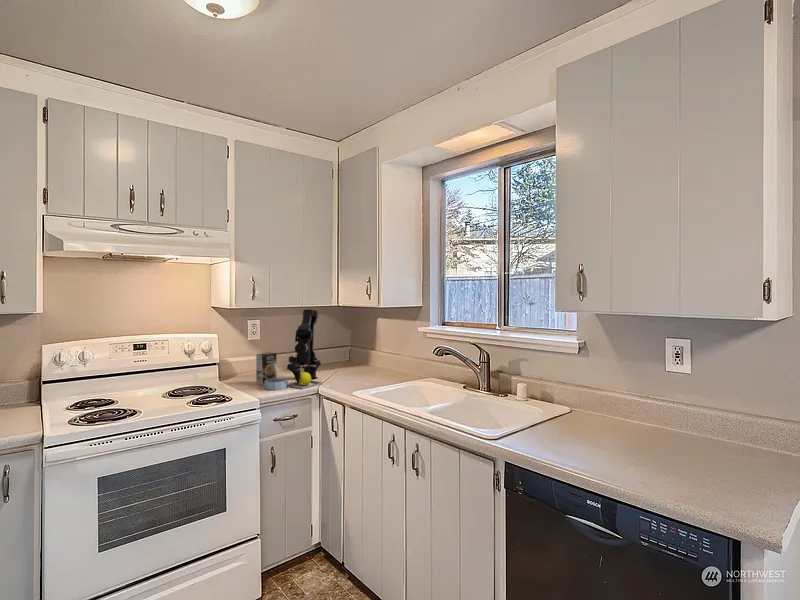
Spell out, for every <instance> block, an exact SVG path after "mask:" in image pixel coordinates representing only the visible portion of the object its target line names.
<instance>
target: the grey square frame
mask: <svg viewBox="0 0 800 600" xmlns="http://www.w3.org/2000/svg"><path fill="white" fill-rule="evenodd" d="M298 385H299V386H298ZM321 385H324V382H323V381H317V380H313V379H312V380H311V382H310V383H309V384H308V385H305V386H301V385H300V384H299V383H297V382H296V381H295V382H290V383H287V388H293V389H298V390H304V389H309V388H313V387H317V386H321Z"/></svg>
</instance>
